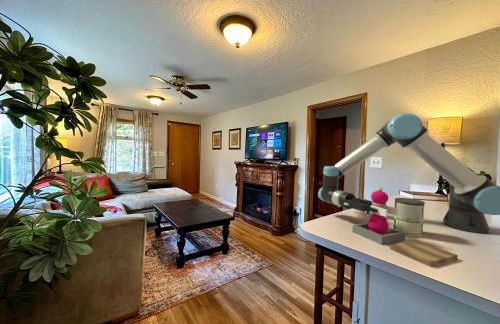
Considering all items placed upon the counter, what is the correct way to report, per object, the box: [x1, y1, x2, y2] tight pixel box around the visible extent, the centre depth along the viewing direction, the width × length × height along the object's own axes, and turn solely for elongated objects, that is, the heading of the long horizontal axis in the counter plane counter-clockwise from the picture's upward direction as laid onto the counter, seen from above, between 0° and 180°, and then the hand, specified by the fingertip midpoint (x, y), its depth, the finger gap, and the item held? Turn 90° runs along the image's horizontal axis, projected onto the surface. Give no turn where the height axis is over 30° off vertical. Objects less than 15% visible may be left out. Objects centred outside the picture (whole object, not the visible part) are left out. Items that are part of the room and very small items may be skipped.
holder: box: [351, 222, 406, 245], centre depth 83 cm, size 13×13×3 cm
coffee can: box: [392, 197, 426, 238], centre depth 88 cm, size 10×10×14 cm
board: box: [389, 239, 459, 268], centre depth 69 cm, size 14×12×2 cm
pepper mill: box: [367, 186, 390, 235], centre depth 83 cm, size 7×7×20 cm
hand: (391, 212), depth 78 cm, fingers closed on pepper mill, 5 cm apart
